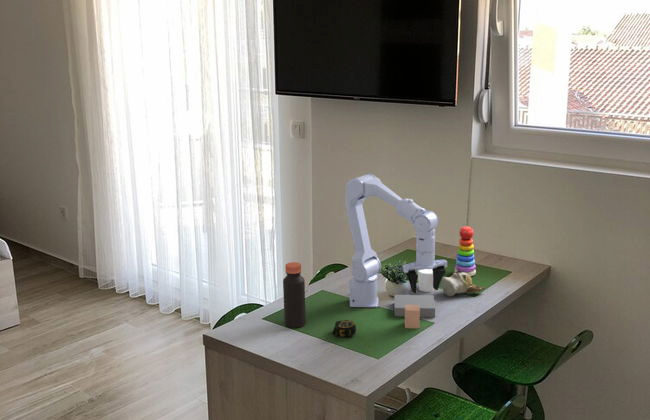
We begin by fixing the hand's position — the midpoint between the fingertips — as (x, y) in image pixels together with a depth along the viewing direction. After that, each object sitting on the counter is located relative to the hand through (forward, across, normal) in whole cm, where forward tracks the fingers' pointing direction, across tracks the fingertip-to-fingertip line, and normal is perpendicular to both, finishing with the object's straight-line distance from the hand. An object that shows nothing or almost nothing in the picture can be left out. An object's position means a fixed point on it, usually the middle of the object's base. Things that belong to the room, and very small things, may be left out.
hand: (424, 290), depth 221 cm
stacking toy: (+10, +32, +31) cm, 46 cm away
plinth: (+10, 0, +7) cm, 12 cm away
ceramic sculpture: (+10, +21, +16) cm, 28 cm away
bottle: (+10, -40, +11) cm, 43 cm away
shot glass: (+10, +12, +23) cm, 28 cm away
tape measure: (+10, -29, -2) cm, 30 cm away
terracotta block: (+10, -6, -3) cm, 12 cm away
